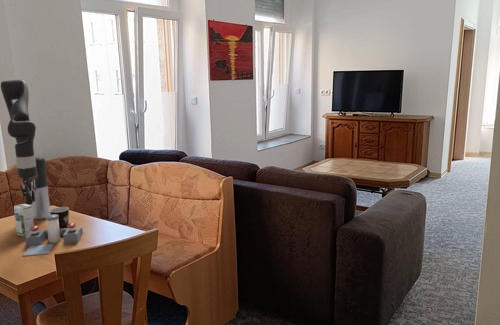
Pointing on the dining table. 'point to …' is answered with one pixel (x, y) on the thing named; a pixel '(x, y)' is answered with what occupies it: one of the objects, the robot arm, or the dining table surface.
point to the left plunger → (34, 230)
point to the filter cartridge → (53, 228)
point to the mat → (38, 250)
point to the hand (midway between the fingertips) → (31, 202)
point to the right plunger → (71, 227)
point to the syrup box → (23, 219)
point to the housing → (63, 232)
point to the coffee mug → (61, 216)
